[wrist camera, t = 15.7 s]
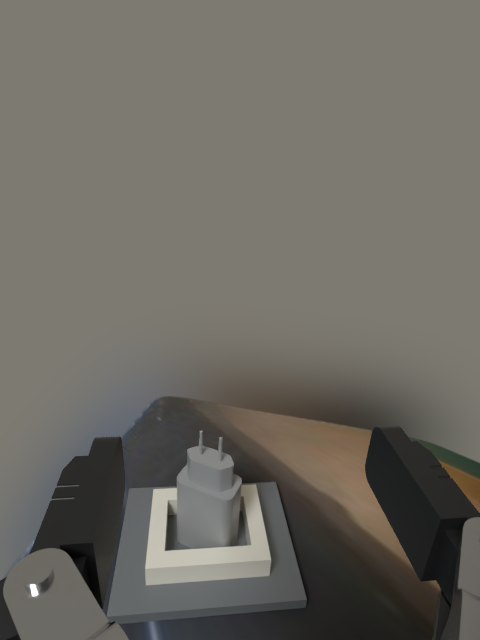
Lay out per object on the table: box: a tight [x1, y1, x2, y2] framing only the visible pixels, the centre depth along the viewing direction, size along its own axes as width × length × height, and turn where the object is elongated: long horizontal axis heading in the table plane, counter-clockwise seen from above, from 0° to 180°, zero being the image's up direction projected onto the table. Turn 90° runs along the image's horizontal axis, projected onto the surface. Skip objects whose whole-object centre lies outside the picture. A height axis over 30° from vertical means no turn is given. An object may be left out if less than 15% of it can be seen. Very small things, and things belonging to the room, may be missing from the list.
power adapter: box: [177, 431, 242, 549], centre depth 36 cm, size 3×5×12 cm, turn 67°
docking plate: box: [107, 482, 307, 624], centre depth 38 cm, size 16×13×3 cm
